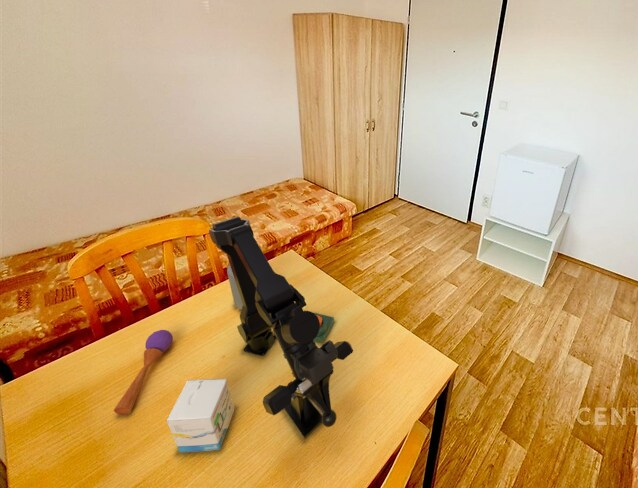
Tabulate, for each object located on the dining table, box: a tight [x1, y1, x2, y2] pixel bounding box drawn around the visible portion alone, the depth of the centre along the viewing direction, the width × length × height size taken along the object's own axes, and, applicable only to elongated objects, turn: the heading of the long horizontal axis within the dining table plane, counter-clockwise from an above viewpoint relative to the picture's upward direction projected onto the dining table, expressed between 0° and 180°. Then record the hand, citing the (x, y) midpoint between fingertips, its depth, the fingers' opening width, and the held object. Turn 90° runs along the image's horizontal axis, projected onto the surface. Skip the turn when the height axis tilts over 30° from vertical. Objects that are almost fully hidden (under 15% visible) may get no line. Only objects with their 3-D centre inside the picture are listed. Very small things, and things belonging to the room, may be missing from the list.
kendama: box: [113, 329, 174, 415], centre depth 80 cm, size 6×6×20 cm
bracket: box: [283, 380, 323, 440], centre depth 74 cm, size 10×7×11 cm
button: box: [316, 315, 322, 327], centre depth 94 cm, size 4×4×2 cm
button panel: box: [303, 309, 335, 344], centre depth 96 cm, size 10×8×4 cm
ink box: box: [166, 378, 235, 454], centre depth 69 cm, size 8×8×12 cm
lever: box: [302, 378, 338, 428], centre depth 69 cm, size 13×3×3 cm, turn 47°
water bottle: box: [226, 240, 258, 311], centre depth 99 cm, size 10×10×28 cm
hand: (328, 413), depth 65 cm, fingers closed, pressing on lever
